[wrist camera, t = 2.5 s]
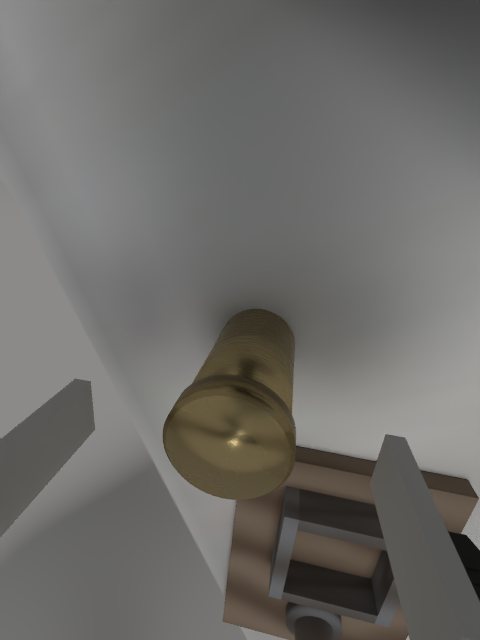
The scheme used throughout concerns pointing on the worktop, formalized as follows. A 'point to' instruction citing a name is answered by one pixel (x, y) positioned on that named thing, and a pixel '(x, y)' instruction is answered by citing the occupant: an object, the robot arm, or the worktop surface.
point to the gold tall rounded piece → (238, 412)
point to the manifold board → (324, 553)
